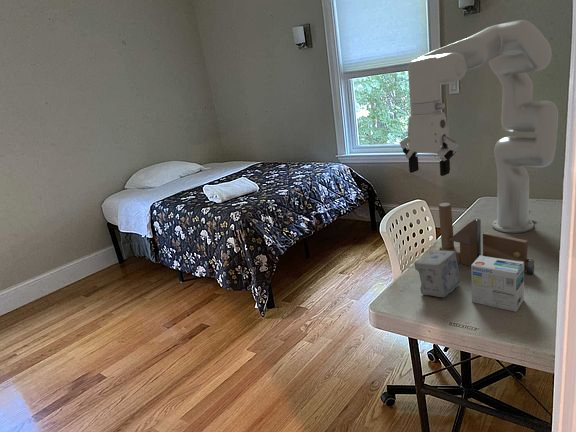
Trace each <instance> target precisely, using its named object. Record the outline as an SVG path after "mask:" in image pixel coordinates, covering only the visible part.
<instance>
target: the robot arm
mask: <svg viewBox="0 0 576 432" xmlns="http://www.w3.org/2000/svg"><path fill="white" fill-rule="evenodd" d="M552 52H553V51H552V47H551V44H550V42H549V41H548V39H547V38H546V37H545V36H544V34H543V33H542V32H541V31H540V30H539V29H538V27H536V25H535V24H533V23H532V22H531V21H528V20H526V19H519V20H515V21H514V20H513V21H509V22H503V23H499V24H494V25H491V26H488V27H486V28H484V29H481V31H479V32H477V33H474V34H472V35H470V36H468V37H467V38H463V39H460V40H457V41H455V42H453V43H450V44H448V45H445V46H443V47H439V48H437V49H434V50H432V51H429V52H427V53H425V54H423V55H422V56H419V57H417V59H413V60H411V61H409V63H408V67H407V74H408V75H407V76H408V88H409V91H408V92H409V106H410V115H409V116H408V122H407V123H408V124H407V137H406V138H404V139H403V140H401V141H399V145H400V147H401V149H402V152H403V154H404V155H405V156H406V159H408V168H409V169H408V170H409V173H412V174H413V173H415V172H418V171H419V169H420V167H419V158H418V157H419V156H418V155H417V154H418V153H419V154H421V153H422V154H437V155H438V157H439V158H440V159H441V160H439V175H440V177H444V176H446V175H449V174H450V171H451V163H450V162H451V161H450V160H451V159H452V157H453V156H454V155H455V154H456V152H457V150H458V147H459V145H460V144H459V142H458V141H456V140H454V139H453V138H451V137H450V133H449V132H450V131H449V125H448V121H447V120H448V119H447V115H446V113H445V112H444V111H442V109H443V110H444V109H445V107H446V105H445V103H443V102H442V99H441V98H442V94H441V85H450V84H455V83H457V82H459V81H461V80H462V79H463V78H464V76H465V75H466V73H467V71H471V70H473V69H477V68H480V67H481V66H483V65H485V64H486V63H488V65H489V67H490V69H491V71H492V72H493V74H494V75H495V76H496V77H497V79H498V80H499V82H500V85H501V89H502V100H501V114H500V115H501V120H500V121H501V123H500V124H501V128H502V129H503V130H504V131H505V132H511V133H535V136H529V135H528V136H527V135H520V136H519V135H510V136H509V135H508V136H505V137H501V138H500V139H498V140H497V141H496V142H495V146H494V148H493V154H494V160H495V164H496V174H497V175H496V176H497V184H496V185H497V186H496V187H497V192H496V193H497V195H496V196H497V200H496V201H497V203H496V204H497V207H496V208H497V211H496V214H497V216H496V217H497V219H495V220H493V222H492V228H493V229H495V230H497V231H499V232H503V233H510V234H511V233H512V234H517V233H518V234H519V233H525V232H529V231H531V230H532V229H533V228H534V221H532V220H531V219H529V215H531V214H533V209H531V208H530V203H529V202H530V175H529V172H528V170H527V169H526V168H525V167H530V168H531V167H532V168H545V167H546V168H547V167H548V166H550V165H551V164H552V163H553V161H554V159H555V156H556V150H557V149H556V148H557V141H558V140H557V139H558V127H559V109H558V106H557V105H556V104H555V102H553V101H550V100H534V99H533V96H534V83H533V81H532V79H531V76H529V74H528V73H531V72H533V73H534V72H540V71H542V70H544V69H546V68H547V67H548V66H549V65H550V63H551V61H552V57H553V53H552Z"/></svg>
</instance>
